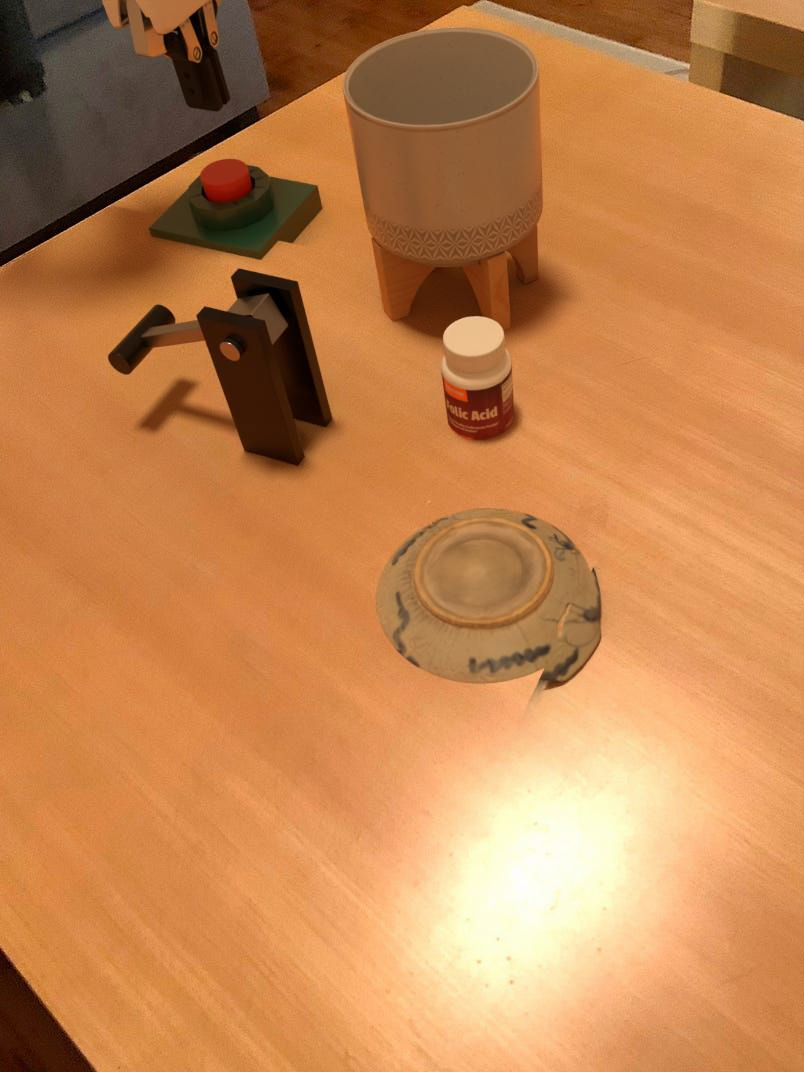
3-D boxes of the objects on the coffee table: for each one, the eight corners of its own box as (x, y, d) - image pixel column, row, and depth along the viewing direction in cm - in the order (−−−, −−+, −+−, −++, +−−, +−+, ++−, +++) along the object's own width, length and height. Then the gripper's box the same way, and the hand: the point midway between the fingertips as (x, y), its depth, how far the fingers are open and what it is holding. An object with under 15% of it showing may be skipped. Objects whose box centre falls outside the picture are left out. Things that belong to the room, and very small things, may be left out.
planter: (576, 316, 81) (576, 83, 66) (427, 377, 78) (394, 149, 63) (495, 234, 88) (480, 8, 73) (356, 288, 85) (311, 64, 70)
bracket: (189, 471, 74) (125, 322, 64) (254, 390, 79) (205, 239, 68) (336, 514, 71) (294, 364, 60) (395, 427, 75) (366, 273, 65)
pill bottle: (441, 450, 73) (428, 355, 67) (458, 404, 76) (446, 308, 69) (507, 458, 72) (500, 363, 66) (522, 412, 75) (517, 315, 68)
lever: (121, 379, 72) (99, 350, 70) (166, 330, 74) (146, 301, 73) (258, 363, 64) (236, 330, 63) (301, 309, 67) (282, 277, 65)
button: (196, 200, 88) (190, 180, 86) (222, 174, 90) (216, 155, 88) (237, 208, 87) (231, 188, 85) (261, 182, 89) (256, 162, 87)
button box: (156, 250, 90) (141, 208, 87) (218, 187, 95) (205, 145, 92) (265, 274, 87) (253, 231, 84) (322, 208, 92) (313, 165, 89)
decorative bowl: (523, 750, 59) (652, 570, 66) (519, 717, 56) (654, 531, 63) (320, 640, 65) (457, 485, 71) (307, 605, 62) (451, 446, 68)
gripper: (141, -221, 72) (219, 53, 87) (5, -136, 65) (116, 148, 80) (232, -218, 70) (296, 63, 85) (102, -128, 62) (197, 162, 77)
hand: (209, 104), depth 82 cm, fingers closed
